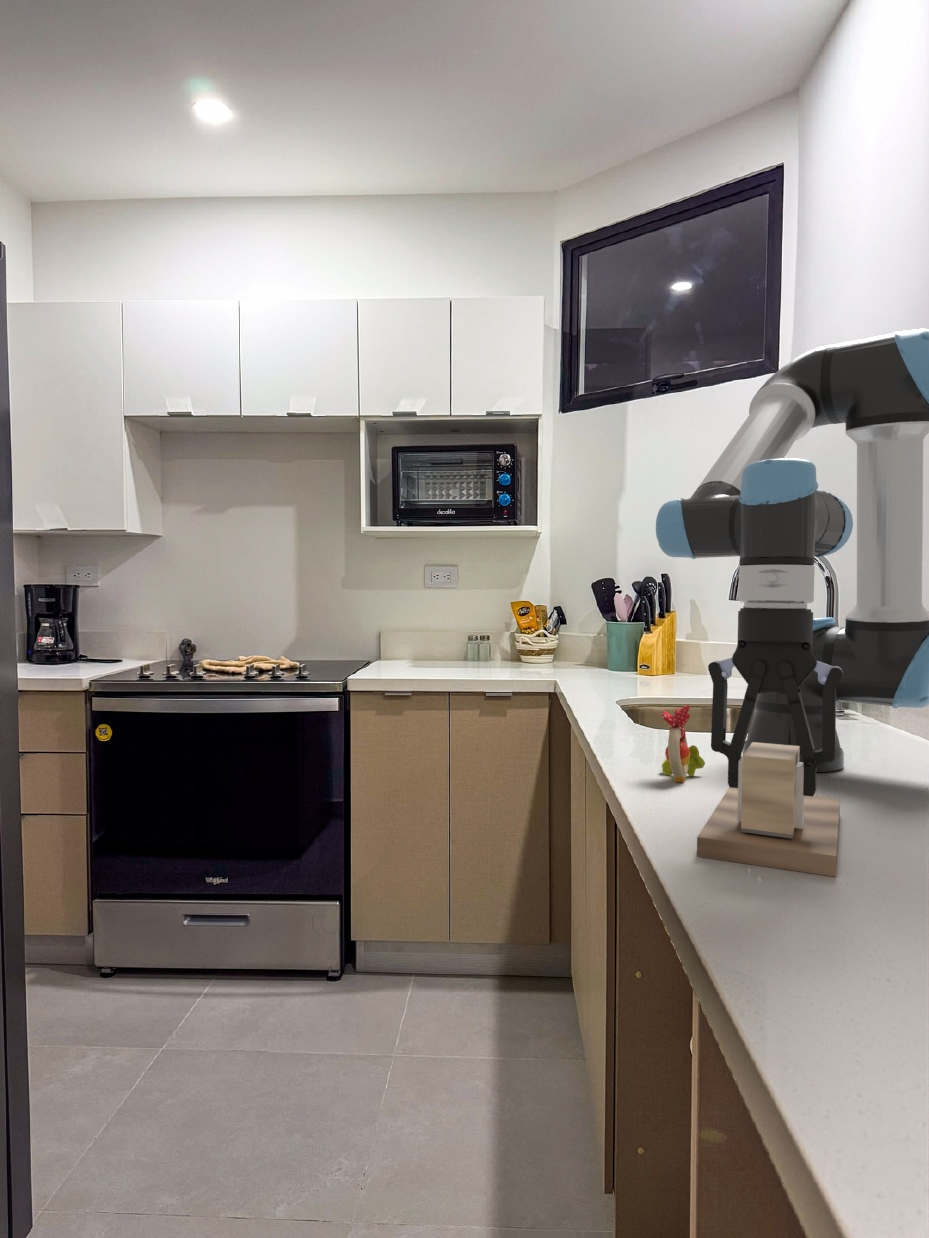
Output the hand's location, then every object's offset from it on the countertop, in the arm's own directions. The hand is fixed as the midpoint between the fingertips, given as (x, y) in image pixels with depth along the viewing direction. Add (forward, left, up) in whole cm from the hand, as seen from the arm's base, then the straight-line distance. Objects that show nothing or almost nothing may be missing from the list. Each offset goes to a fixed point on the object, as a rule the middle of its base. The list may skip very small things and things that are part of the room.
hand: (770, 820), depth 86 cm
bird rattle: (-11, -29, -3) cm, 31 cm away
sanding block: (0, 0, 0) cm, 0 cm away
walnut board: (-3, -3, -3) cm, 5 cm away
